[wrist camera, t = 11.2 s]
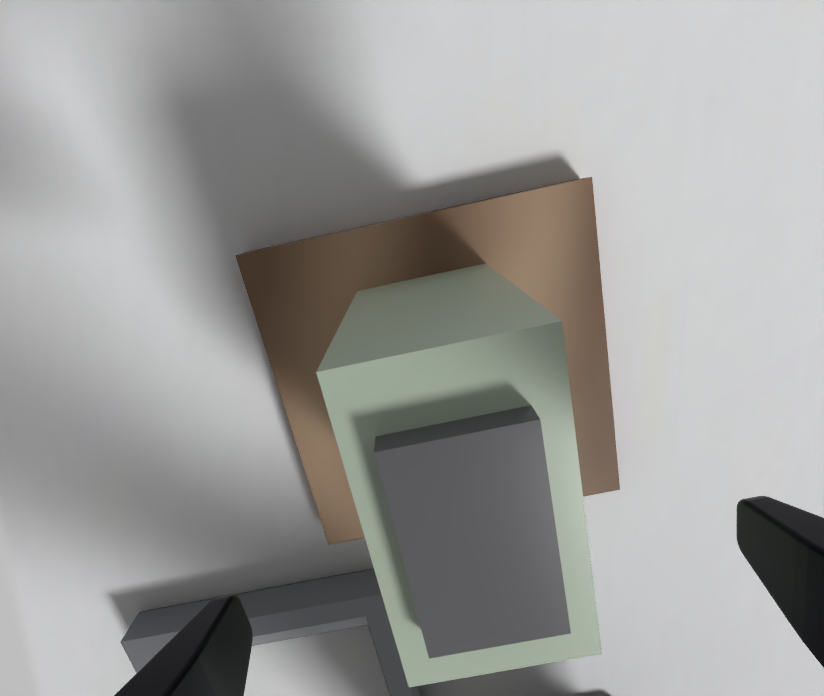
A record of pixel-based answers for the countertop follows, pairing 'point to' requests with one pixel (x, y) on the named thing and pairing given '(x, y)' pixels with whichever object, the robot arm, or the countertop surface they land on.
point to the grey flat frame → (288, 620)
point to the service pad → (422, 256)
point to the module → (465, 472)
